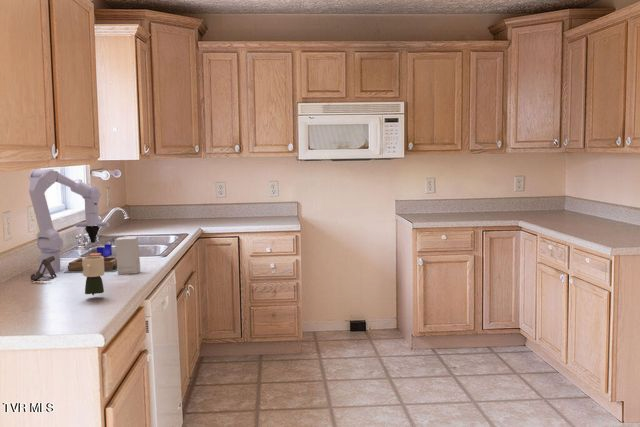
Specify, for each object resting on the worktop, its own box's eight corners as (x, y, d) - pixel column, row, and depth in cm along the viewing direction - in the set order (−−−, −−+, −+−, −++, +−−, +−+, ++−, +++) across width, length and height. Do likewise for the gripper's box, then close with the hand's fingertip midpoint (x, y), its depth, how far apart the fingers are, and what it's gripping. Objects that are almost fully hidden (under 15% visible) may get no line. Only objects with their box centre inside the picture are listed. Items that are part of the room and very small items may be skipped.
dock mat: (114, 271, 256) (114, 271, 256) (64, 272, 255) (64, 272, 255) (125, 265, 272) (125, 264, 272) (77, 266, 271) (77, 265, 271)
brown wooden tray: (114, 270, 258) (114, 262, 258) (66, 271, 257) (66, 263, 257) (123, 264, 272) (123, 256, 272) (78, 265, 271) (77, 257, 271)
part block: (98, 266, 262) (98, 254, 262) (89, 266, 262) (88, 254, 262) (101, 264, 266) (101, 253, 266) (92, 264, 266) (91, 253, 266)
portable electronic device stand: (39, 276, 249) (37, 256, 248) (58, 276, 249) (57, 255, 248) (30, 280, 240) (29, 259, 239) (51, 280, 240) (50, 259, 240)
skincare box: (140, 271, 257) (139, 236, 256) (136, 274, 251) (135, 238, 250) (120, 271, 257) (119, 236, 255) (116, 274, 251) (114, 238, 249)
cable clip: (102, 256, 301) (102, 244, 301) (112, 256, 301) (111, 244, 301) (94, 260, 289) (93, 247, 289) (103, 260, 289) (103, 247, 289)
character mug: (90, 291, 218) (88, 255, 217) (110, 290, 218) (108, 254, 217) (78, 297, 208) (76, 260, 206) (99, 297, 207) (97, 259, 206)
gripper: (110, 212, 283) (111, 241, 284) (78, 212, 282) (80, 241, 283) (106, 213, 276) (107, 243, 277) (73, 213, 275) (74, 243, 276)
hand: (93, 242), depth 280 cm, fingers closed
